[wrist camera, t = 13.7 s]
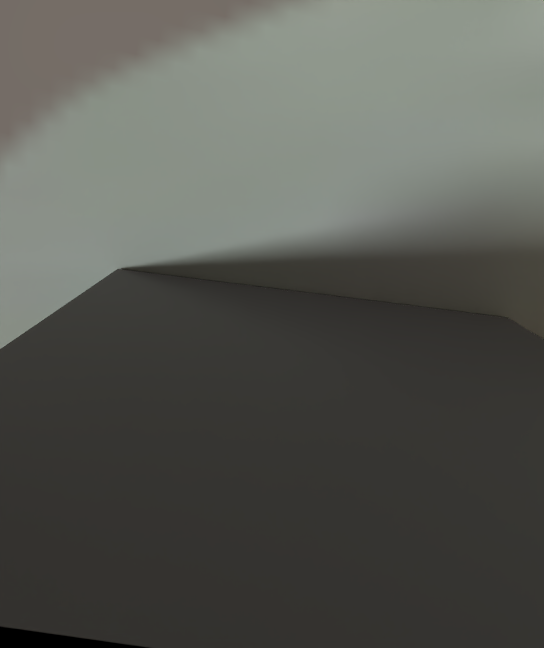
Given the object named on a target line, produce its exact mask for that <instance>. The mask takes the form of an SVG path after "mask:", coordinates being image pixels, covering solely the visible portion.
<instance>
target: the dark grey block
mask: <svg viewBox="0 0 544 648" xmlns="http://www.w3.org/2000/svg"><path fill="white" fill-rule="evenodd" d="M0 648H544V339H542V338H541V337H539V336H537V335H536V334H534V333H532V332H531V331H529V330H527V329H526V328H524V327H522V326H521V325H519V324H517V323H516V322H514V321H512V320H511V319H509V318H507V317H499V316H491V315H483V314H475V313H467V312H459V311H451V310H443V309H435V308H427V307H419V306H411V305H403V304H395V303H387V302H379V301H371V300H362V299H354V298H346V297H338V296H330V295H322V294H314V293H306V292H298V291H290V290H282V289H274V288H266V287H258V286H250V285H242V284H234V283H226V282H218V281H210V280H202V279H194V278H186V277H178V276H170V275H162V274H154V273H146V272H138V271H130V270H122V269H117V270H116V271H114V272H113V273H111V274H110V275H108V276H107V277H105V278H104V279H102V280H101V281H99V282H98V283H97V284H95V285H94V286H92V287H91V288H89V289H88V290H86V291H85V292H83V293H82V294H80V295H79V296H77V297H76V298H75V299H73V300H72V301H70V302H69V303H67V304H66V305H64V306H63V307H61V308H60V309H58V310H57V311H56V312H54V313H53V314H51V315H50V316H48V317H47V318H45V319H44V320H42V321H41V322H39V323H38V324H37V325H35V326H34V327H32V328H31V329H29V330H28V331H26V332H25V333H23V334H22V335H20V336H19V337H18V338H16V339H15V340H13V341H12V342H10V343H9V344H7V345H6V346H4V347H3V348H1V349H0Z"/></svg>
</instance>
